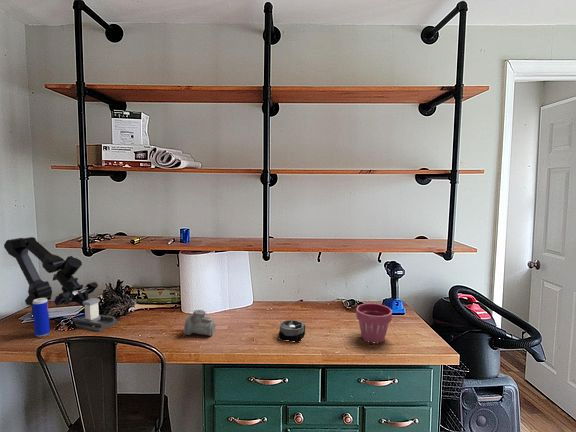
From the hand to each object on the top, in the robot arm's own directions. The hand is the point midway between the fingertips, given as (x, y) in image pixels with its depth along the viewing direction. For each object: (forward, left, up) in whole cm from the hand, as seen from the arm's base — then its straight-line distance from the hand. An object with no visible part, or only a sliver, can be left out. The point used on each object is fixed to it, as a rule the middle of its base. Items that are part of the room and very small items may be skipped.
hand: (88, 307), depth 155 cm
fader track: (+2, +2, -7) cm, 8 cm away
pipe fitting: (+39, +36, -8) cm, 54 cm away
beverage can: (+1, -17, -8) cm, 19 cm away
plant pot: (+85, +92, -8) cm, 125 cm away
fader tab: (+1, +1, -6) cm, 6 cm away
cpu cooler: (+64, +65, -8) cm, 92 cm away
